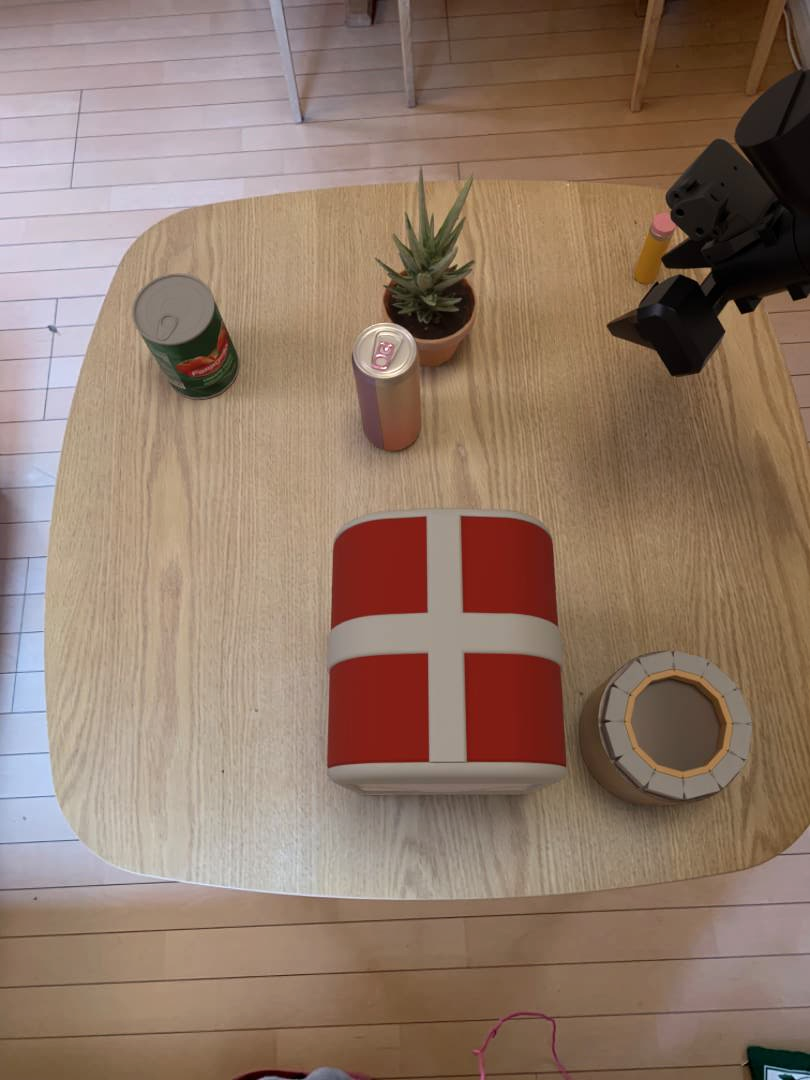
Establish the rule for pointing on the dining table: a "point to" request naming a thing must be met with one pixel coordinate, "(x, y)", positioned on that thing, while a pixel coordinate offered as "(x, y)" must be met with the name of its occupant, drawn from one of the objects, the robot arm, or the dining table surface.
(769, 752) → the dining table surface
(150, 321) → the canned tomato
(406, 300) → the potted plant
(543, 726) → the red gift box
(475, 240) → the dining table surface
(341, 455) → the dining table surface
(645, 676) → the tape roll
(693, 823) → the dining table surface
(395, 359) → the beverage can
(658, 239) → the pencil
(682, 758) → the brown cylindrical pot
